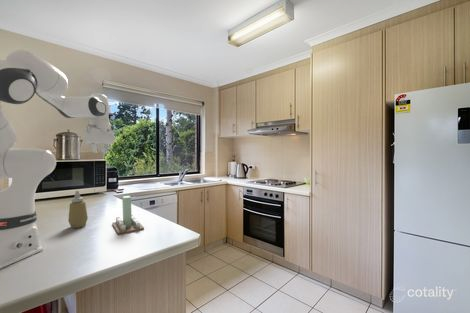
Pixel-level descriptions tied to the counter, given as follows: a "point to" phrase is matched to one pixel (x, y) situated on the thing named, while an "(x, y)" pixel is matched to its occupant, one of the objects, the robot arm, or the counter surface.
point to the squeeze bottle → (77, 212)
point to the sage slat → (127, 211)
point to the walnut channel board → (122, 229)
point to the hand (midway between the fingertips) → (100, 152)
